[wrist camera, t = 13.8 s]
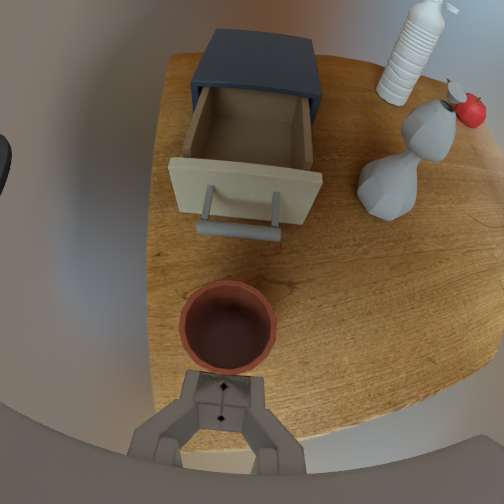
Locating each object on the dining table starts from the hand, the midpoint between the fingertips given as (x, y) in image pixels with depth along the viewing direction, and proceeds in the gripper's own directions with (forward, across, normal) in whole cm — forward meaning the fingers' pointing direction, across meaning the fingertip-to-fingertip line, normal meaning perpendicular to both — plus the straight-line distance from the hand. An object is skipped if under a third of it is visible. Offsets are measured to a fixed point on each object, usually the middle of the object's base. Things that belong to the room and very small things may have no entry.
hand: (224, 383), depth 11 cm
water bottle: (+45, -26, -22) cm, 56 cm away
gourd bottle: (+27, -17, -4) cm, 32 cm away
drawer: (+26, 0, -4) cm, 26 cm away
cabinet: (+37, 0, -14) cm, 40 cm away
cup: (+14, 0, +9) cm, 16 cm away
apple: (+48, -48, -25) cm, 72 cm away
